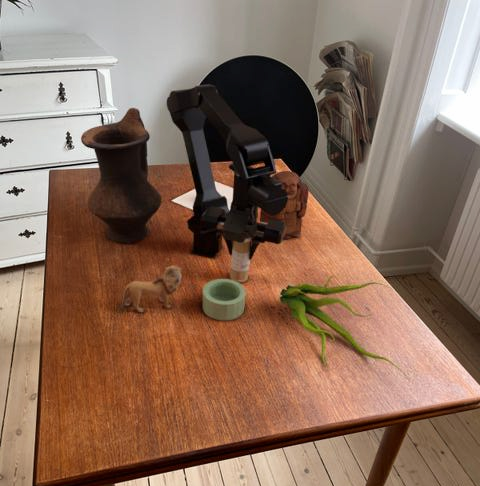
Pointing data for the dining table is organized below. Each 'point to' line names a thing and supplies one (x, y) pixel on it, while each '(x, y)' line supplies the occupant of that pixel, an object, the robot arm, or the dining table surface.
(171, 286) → the lion figurine
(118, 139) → the jug
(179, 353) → the dining table surface
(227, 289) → the jar
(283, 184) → the wooden figurine
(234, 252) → the sprinkles bottle
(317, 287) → the decorative plant
